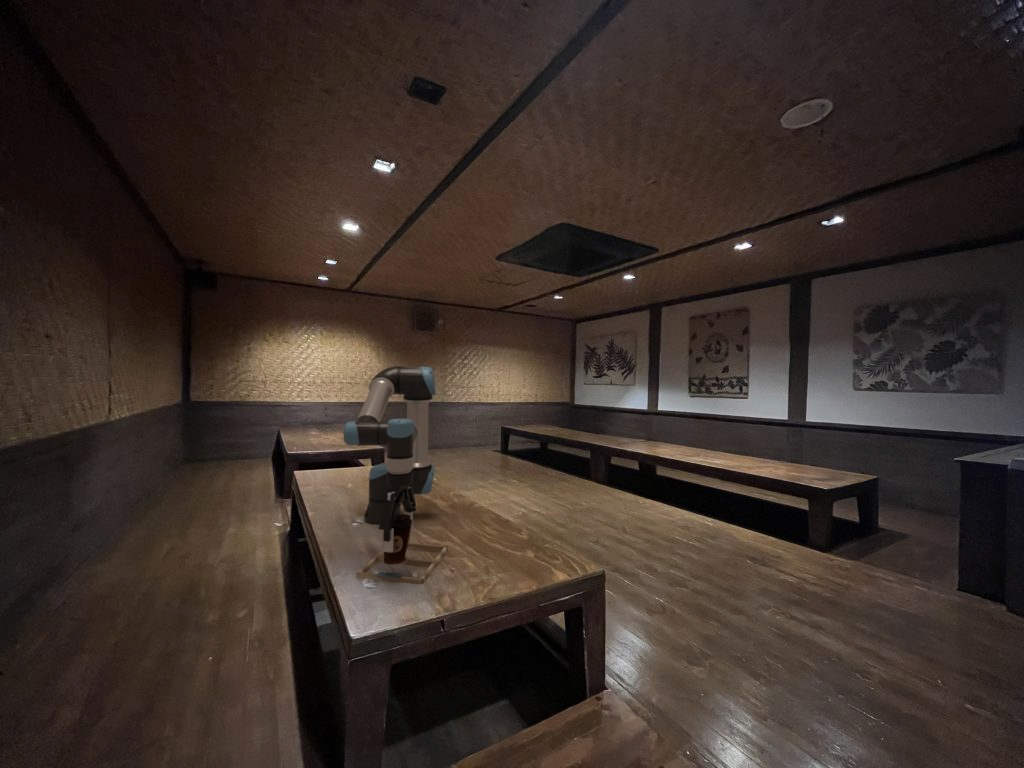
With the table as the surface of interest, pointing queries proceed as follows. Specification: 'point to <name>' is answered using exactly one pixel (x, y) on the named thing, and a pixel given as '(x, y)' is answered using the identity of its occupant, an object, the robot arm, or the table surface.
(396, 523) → the coffee cup
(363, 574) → the wooden frame
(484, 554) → the table surface
